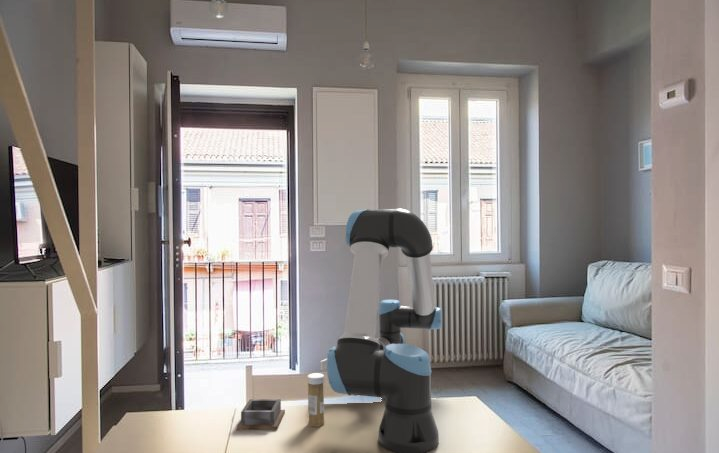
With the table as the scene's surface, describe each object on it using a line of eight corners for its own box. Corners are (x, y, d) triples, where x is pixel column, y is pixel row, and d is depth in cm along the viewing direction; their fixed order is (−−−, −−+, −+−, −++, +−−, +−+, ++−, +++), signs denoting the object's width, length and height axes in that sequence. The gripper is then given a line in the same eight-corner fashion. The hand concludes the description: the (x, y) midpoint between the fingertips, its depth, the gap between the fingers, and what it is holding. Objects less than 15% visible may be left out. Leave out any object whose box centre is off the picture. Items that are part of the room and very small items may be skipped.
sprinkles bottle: (327, 424, 123) (326, 375, 123) (312, 428, 120) (312, 378, 120) (319, 418, 127) (319, 371, 127) (305, 422, 124) (304, 374, 124)
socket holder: (284, 413, 131) (284, 397, 131) (277, 430, 120) (276, 413, 120) (247, 413, 131) (247, 397, 131) (236, 430, 120) (236, 413, 120)
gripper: (409, 368, 144) (375, 390, 126) (346, 356, 158) (307, 374, 140) (408, 345, 144) (374, 363, 126) (345, 335, 157) (306, 350, 140)
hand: (339, 369), depth 133 cm, fingers open, 13 cm apart
